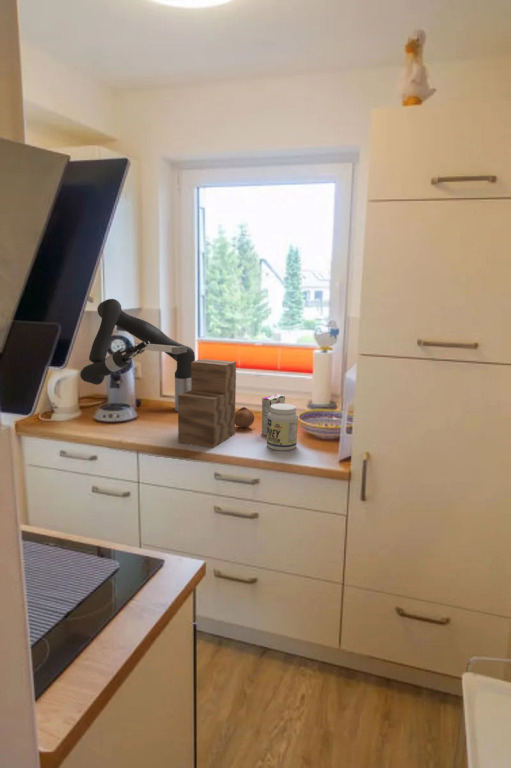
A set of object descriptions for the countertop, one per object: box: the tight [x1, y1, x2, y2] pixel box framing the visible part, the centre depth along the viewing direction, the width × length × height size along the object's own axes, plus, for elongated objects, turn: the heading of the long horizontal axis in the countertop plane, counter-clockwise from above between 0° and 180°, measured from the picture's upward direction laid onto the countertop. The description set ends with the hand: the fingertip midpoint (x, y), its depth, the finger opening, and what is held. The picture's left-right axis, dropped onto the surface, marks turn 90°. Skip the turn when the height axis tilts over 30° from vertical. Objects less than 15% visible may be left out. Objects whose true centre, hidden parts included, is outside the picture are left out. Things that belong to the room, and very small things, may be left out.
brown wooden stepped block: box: [177, 358, 237, 449], centre depth 211 cm, size 21×16×32 cm
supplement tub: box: [266, 403, 299, 452], centre depth 205 cm, size 12×12×17 cm
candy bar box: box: [261, 393, 286, 436], centre depth 224 cm, size 11×5×16 cm, turn 143°
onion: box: [235, 406, 255, 429], centre depth 229 cm, size 10×9×10 cm
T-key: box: [134, 342, 187, 354], centre depth 213 cm, size 8×22×2 cm, turn 68°
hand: (147, 343), depth 215 cm, fingers closed on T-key, 2 cm apart
